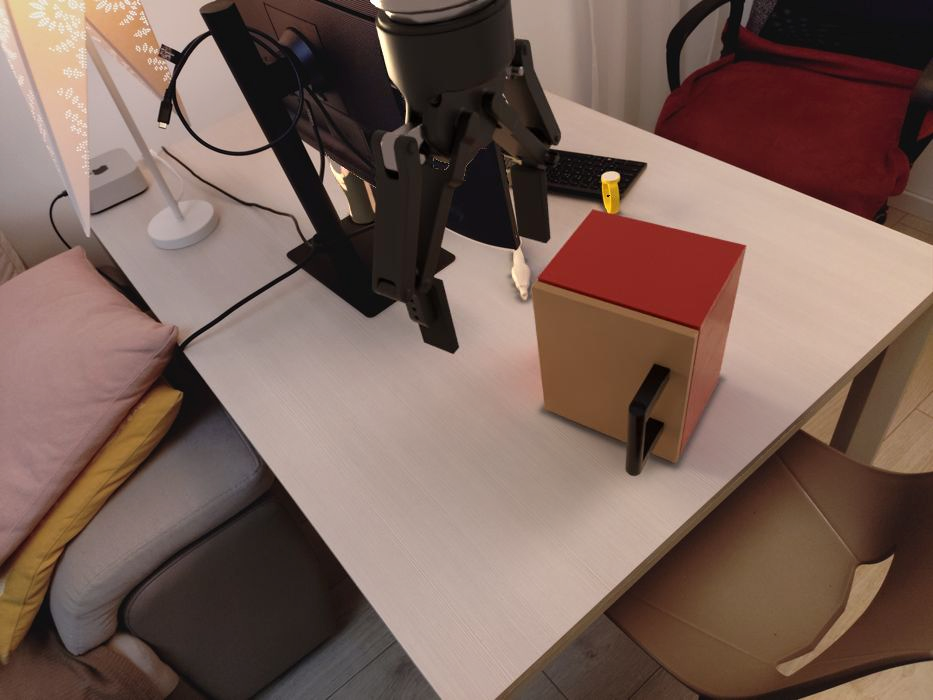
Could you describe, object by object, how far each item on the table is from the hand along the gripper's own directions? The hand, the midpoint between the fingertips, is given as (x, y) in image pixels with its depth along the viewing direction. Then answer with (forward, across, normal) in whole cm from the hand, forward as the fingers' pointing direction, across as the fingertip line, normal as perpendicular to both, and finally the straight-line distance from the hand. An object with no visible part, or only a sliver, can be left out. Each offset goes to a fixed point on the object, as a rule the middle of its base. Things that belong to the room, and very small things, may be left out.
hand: (491, 287), depth 49 cm
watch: (+28, -48, -12) cm, 57 cm away
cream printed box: (+28, -50, -38) cm, 69 cm away
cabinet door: (+28, -6, +6) cm, 29 cm away
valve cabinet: (+28, -16, +6) cm, 33 cm away
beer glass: (+28, -32, -50) cm, 66 cm away
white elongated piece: (+28, -30, -18) cm, 45 cm away
